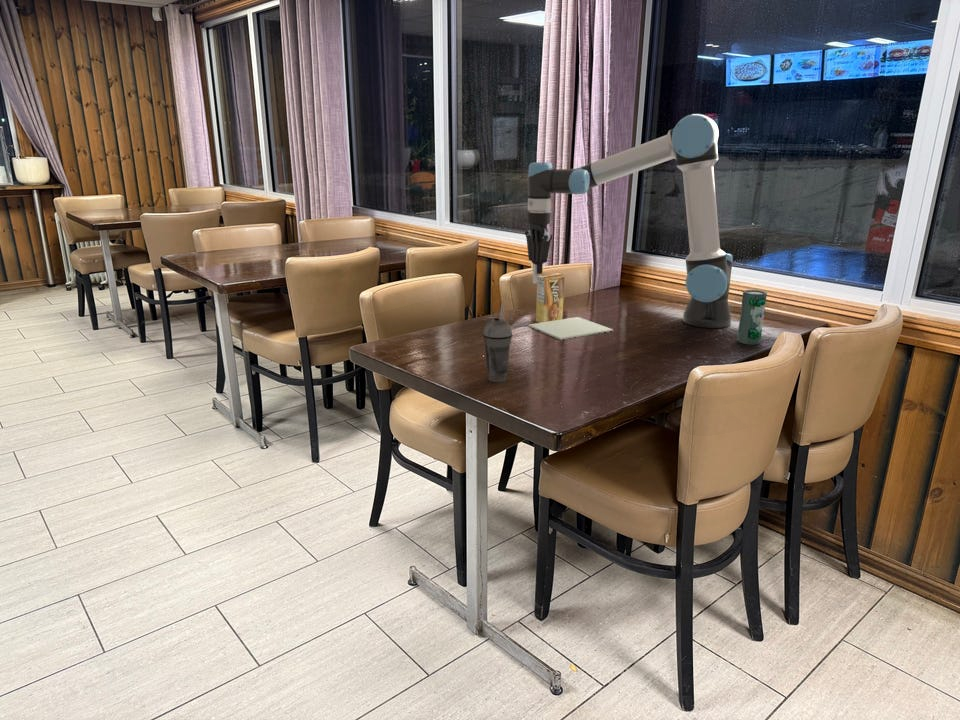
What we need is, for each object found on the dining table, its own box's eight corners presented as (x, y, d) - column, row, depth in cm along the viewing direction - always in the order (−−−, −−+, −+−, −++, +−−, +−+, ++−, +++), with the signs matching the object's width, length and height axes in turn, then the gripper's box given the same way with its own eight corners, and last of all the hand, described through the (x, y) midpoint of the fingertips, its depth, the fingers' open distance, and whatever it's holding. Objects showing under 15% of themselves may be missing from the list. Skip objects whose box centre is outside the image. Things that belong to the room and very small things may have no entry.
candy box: (554, 317, 225) (555, 272, 220) (563, 319, 222) (565, 274, 217) (535, 321, 220) (536, 275, 215) (544, 324, 217) (545, 277, 212)
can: (754, 345, 194) (761, 295, 189) (734, 341, 197) (740, 292, 193) (762, 341, 198) (769, 292, 193) (742, 337, 202) (748, 289, 197)
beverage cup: (481, 374, 170) (481, 298, 164) (509, 373, 170) (510, 297, 164) (484, 384, 163) (484, 305, 157) (513, 383, 164) (514, 304, 157)
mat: (612, 331, 209) (612, 329, 208) (560, 340, 199) (560, 338, 199) (578, 318, 224) (578, 316, 223) (528, 326, 214) (528, 324, 214)
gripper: (518, 210, 220) (517, 280, 228) (540, 213, 210) (538, 287, 217) (537, 209, 224) (535, 278, 231) (560, 212, 213) (557, 285, 220)
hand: (537, 282), depth 224 cm, fingers closed
